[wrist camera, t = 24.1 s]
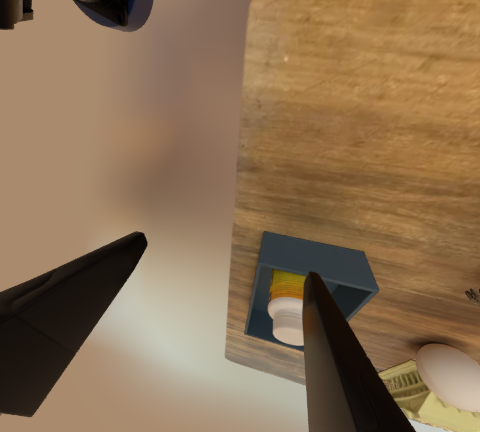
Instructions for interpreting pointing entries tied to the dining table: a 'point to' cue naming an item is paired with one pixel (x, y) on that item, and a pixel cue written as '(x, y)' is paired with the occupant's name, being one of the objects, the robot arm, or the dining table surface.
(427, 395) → the model building
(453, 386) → the ball
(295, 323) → the supplement bottle
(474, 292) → the dinosaur figurine
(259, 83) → the dining table surface
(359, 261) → the storage tote
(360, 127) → the dining table surface
